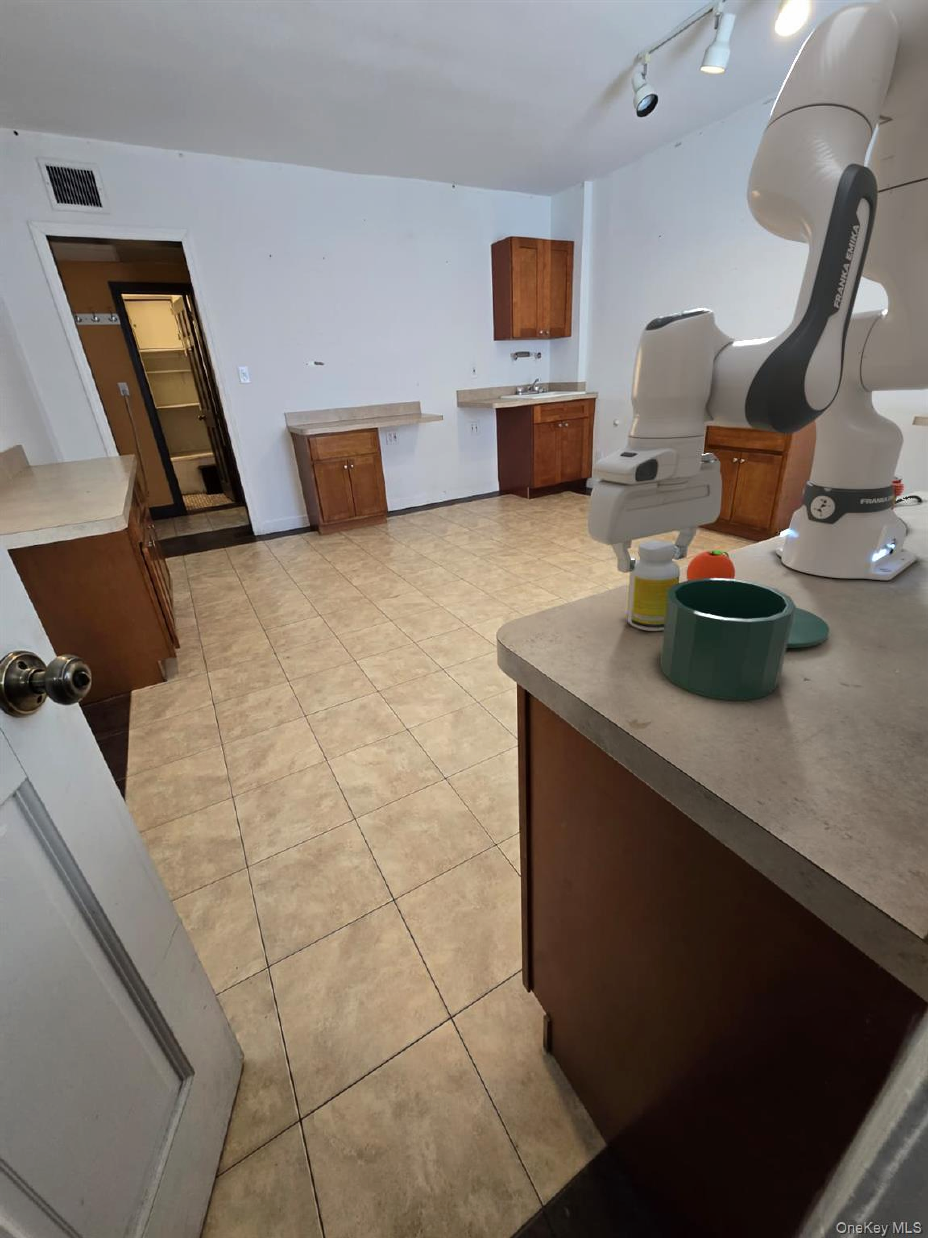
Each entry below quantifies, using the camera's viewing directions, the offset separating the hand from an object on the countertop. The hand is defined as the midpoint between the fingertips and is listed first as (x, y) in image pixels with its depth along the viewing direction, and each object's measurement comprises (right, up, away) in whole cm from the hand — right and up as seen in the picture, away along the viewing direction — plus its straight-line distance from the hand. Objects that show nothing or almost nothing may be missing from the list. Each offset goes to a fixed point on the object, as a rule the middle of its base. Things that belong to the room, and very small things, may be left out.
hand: (652, 564), depth 70 cm
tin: (+4, -14, -9) cm, 17 cm away
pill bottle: (+1, -8, +4) cm, 9 cm away
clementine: (+14, -3, +13) cm, 19 cm away
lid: (+16, -8, 0) cm, 18 cm away
